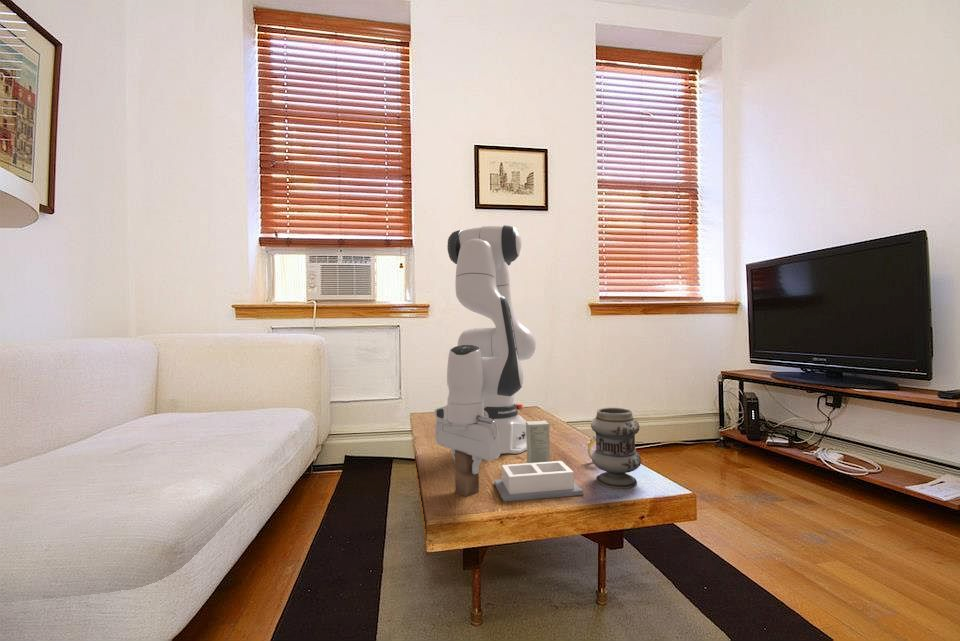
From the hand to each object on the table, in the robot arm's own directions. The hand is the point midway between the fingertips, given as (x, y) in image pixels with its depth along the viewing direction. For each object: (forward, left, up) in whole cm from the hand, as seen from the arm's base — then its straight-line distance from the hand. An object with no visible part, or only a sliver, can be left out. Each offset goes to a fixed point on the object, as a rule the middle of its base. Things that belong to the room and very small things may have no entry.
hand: (466, 470), depth 103 cm
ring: (-41, +11, -5) cm, 43 cm away
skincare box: (-27, 0, -5) cm, 28 cm away
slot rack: (-13, +11, -5) cm, 18 cm away
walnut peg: (0, 0, -5) cm, 5 cm away
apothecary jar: (-31, +22, -5) cm, 38 cm away
